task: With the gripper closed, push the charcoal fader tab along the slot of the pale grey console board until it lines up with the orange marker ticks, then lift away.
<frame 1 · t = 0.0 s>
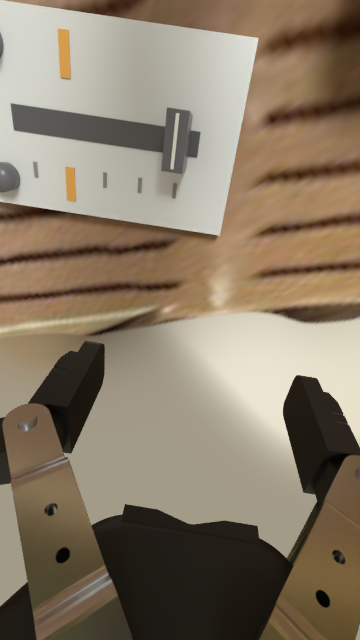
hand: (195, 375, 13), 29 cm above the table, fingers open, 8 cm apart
fader tab: (177, 142, 30), point 5 cm above the table, slide at 0.0 cm
console board: (110, 131, 34), on the table
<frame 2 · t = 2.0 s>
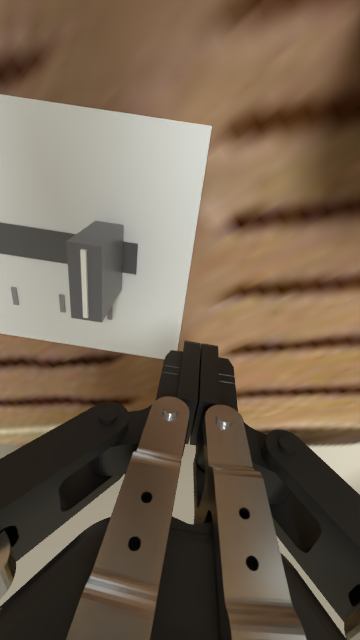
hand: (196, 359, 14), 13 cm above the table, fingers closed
fader tab: (98, 270, 20), point 5 cm above the table, slide at 0.0 cm
console board: (20, 231, 25), on the table
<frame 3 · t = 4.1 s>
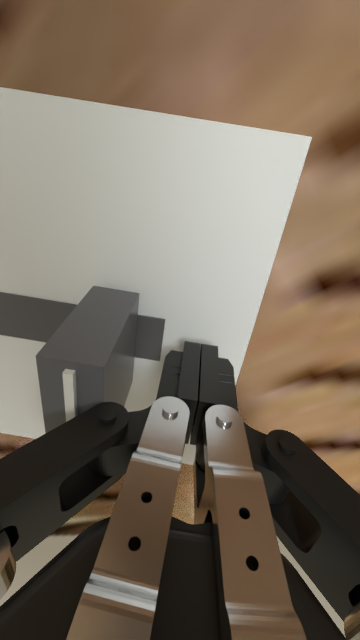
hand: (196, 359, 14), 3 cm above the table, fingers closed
fader tab: (96, 373, 12), point 5 cm above the table, slide at 0.2 cm, touching gripper
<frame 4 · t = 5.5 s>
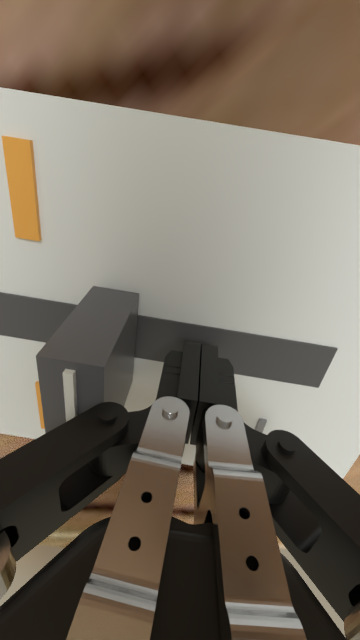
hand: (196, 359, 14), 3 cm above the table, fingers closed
fader tab: (96, 373, 12), point 5 cm above the table, slide at 8.2 cm, touching gripper
console board: (130, 313, 16), on the table
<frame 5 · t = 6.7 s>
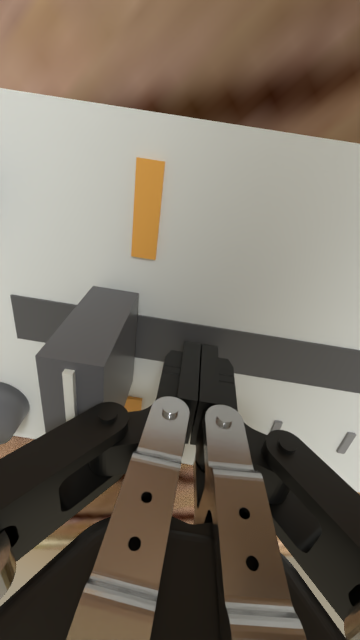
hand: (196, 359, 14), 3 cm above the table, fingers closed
fader tab: (96, 373, 12), point 5 cm above the table, slide at 13.0 cm, touching gripper
console board: (219, 327, 16), on the table
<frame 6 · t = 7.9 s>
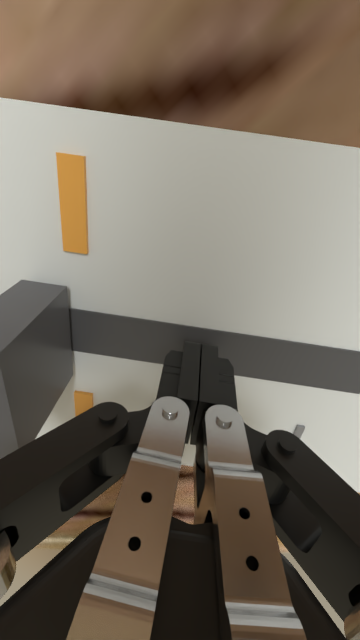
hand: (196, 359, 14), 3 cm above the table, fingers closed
fader tab: (20, 365, 12), point 5 cm above the table, slide at 13.4 cm
console board: (167, 322, 17), on the table
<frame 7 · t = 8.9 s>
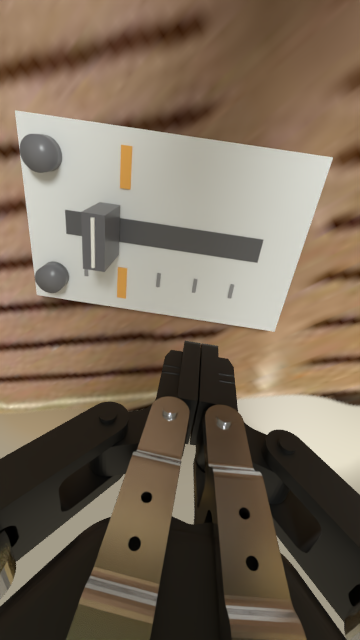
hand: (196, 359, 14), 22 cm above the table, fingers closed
fader tab: (101, 236, 29), point 5 cm above the table, slide at 13.4 cm
console board: (165, 231, 33), on the table
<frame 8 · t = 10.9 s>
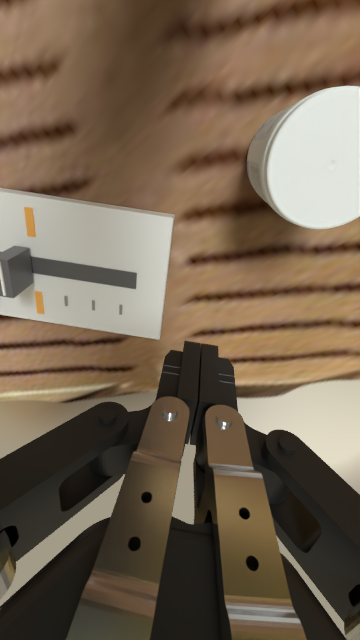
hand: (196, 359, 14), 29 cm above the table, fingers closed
fader tab: (13, 271, 39), point 5 cm above the table, slide at 13.4 cm
supplement tub: (287, 158, 35), on the table
console board: (70, 264, 44), on the table
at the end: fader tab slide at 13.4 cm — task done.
